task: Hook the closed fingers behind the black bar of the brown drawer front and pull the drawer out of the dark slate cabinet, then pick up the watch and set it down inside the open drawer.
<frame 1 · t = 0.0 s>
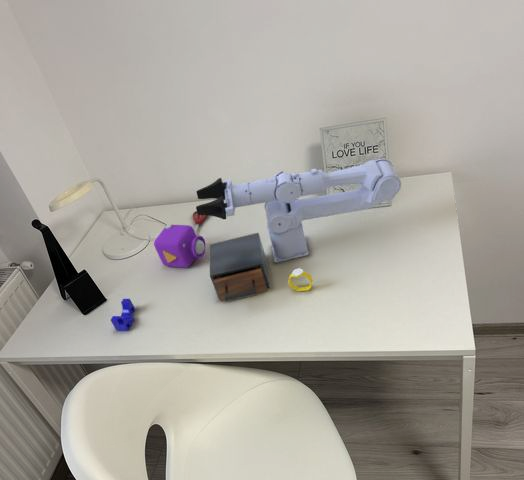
hand: (197, 202, 139), 22 cm above the table, tool horizontal, fingers open, 7 cm apart
toy camera: (188, 259, 160), on the table
watch: (302, 290, 139), on the table
cabinet: (243, 278, 147), on the table
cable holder: (128, 320, 146), on the table
scissors: (198, 225, 172), on the table
drawer: (240, 277, 141), point 4 cm above the table, slide at 0.5 cm
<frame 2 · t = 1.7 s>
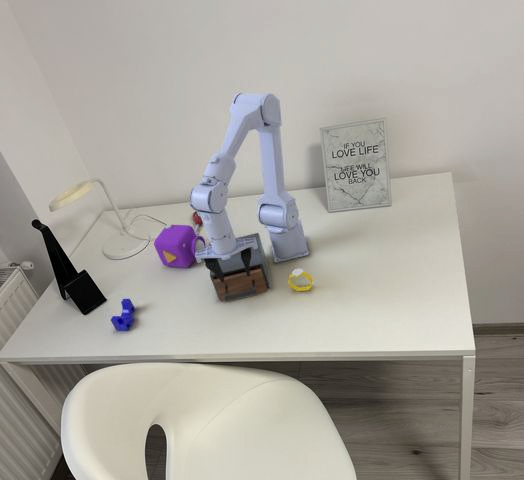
hand: (235, 276, 133), 9 cm above the table, tool pointing down, fingers open, 6 cm apart
nothing on the table moved.
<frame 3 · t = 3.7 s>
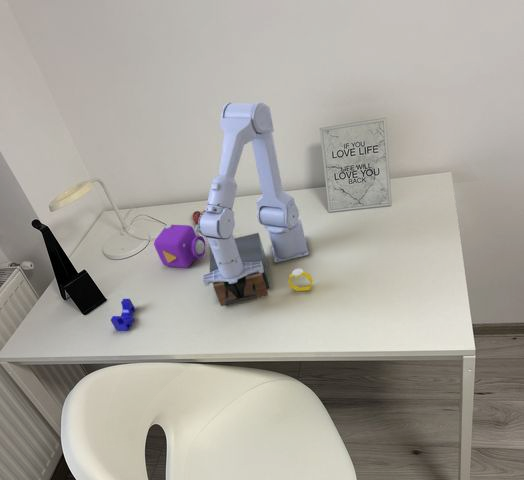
hand: (241, 298, 136), 4 cm above the table, tool pointing down, fingers closed, pressing on drawer
drawer: (240, 281, 140), point 4 cm above the table, slide at 2.3 cm, touching gripper
everything else where it was.
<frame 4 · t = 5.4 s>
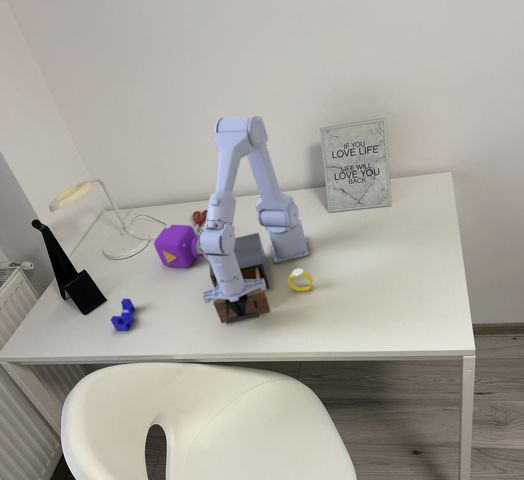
hand: (243, 316, 131), 4 cm above the table, tool pointing down, fingers closed, pressing on drawer
drawer: (241, 297, 135), point 4 cm above the table, slide at 8.6 cm, touching gripper
everything else where it was.
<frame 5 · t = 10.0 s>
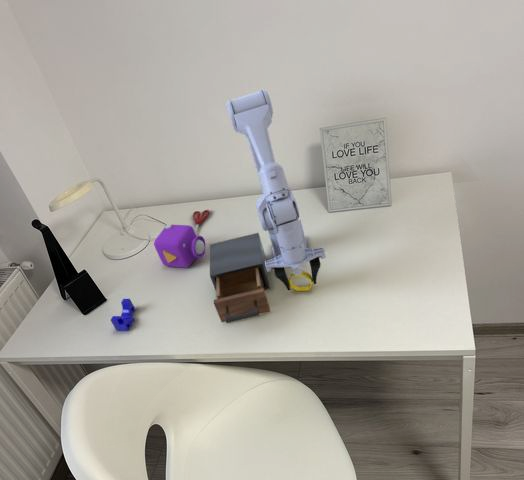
hand: (301, 284, 137), 2 cm above the table, tool pointing down, fingers closed on watch, 6 cm apart
watch: (303, 290, 139), on the table, touching gripper
drawer: (241, 297, 135), point 4 cm above the table, slide at 8.3 cm
everything else where it was.
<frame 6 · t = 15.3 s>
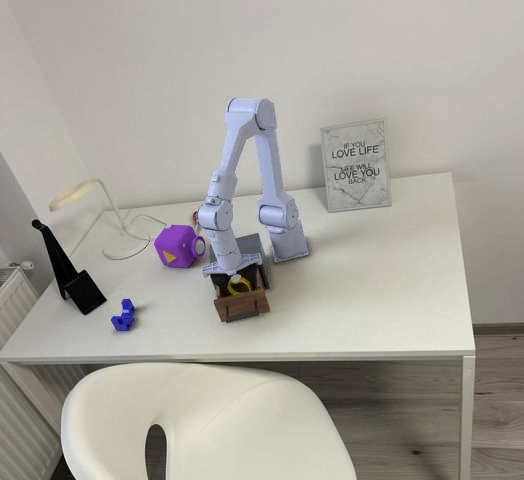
hand: (240, 290, 137), 5 cm above the table, tool pointing down, fingers closed on watch, 6 cm apart
watch: (243, 295, 138), point 3 cm above the table, touching gripper
everything else where it was.
when the fingers open (6 cm above the table, at t = 21.6 s): watch stays where it is, resting on drawer.
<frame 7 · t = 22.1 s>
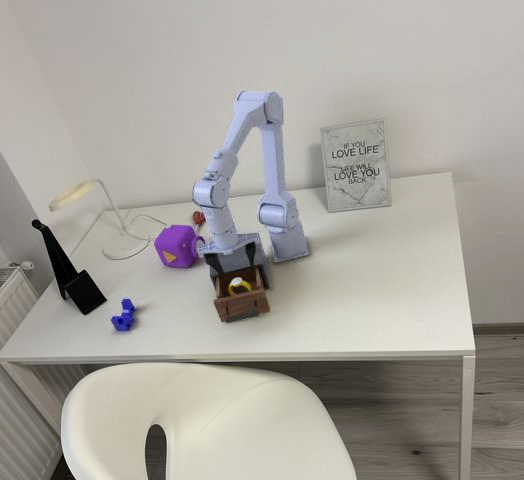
hand: (237, 271, 134), 10 cm above the table, tool pointing down, fingers open, 7 cm apart
watch: (243, 299, 138), point 2 cm above the table, touching drawer
drawer: (241, 297, 135), point 4 cm above the table, slide at 8.3 cm, touching watch
everything else where it was.
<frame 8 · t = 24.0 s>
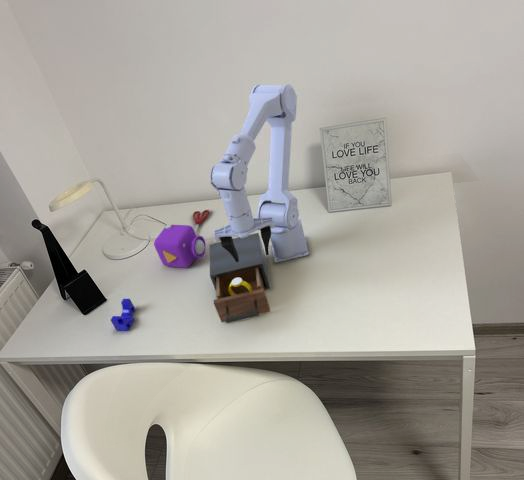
hand: (252, 256, 136), 10 cm above the table, tool pointing down, fingers open, 7 cm apart
nothing on the table moved.
at the end: drawer slide at 8.3 cm; watch inside the target area in the drawer (0.5 cm from its centre), point 1.8 cm above the cabinet's base; the gripper is holding nothing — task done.
